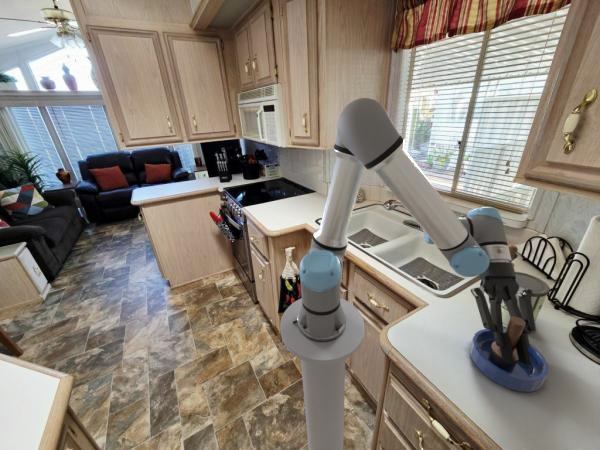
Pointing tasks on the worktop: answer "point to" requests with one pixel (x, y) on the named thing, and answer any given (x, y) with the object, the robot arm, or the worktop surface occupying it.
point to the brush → (514, 334)
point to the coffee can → (538, 295)
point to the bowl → (515, 379)
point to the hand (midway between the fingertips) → (516, 363)
